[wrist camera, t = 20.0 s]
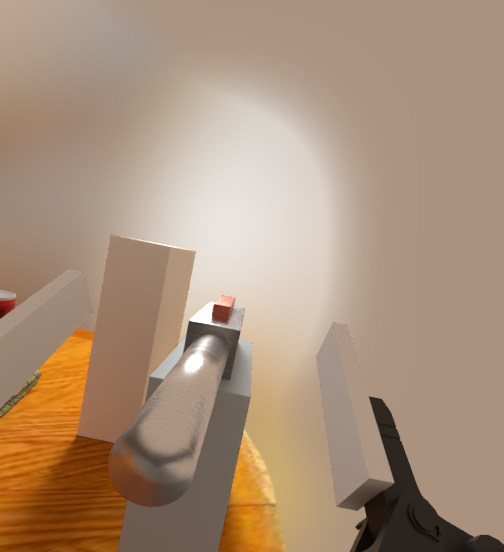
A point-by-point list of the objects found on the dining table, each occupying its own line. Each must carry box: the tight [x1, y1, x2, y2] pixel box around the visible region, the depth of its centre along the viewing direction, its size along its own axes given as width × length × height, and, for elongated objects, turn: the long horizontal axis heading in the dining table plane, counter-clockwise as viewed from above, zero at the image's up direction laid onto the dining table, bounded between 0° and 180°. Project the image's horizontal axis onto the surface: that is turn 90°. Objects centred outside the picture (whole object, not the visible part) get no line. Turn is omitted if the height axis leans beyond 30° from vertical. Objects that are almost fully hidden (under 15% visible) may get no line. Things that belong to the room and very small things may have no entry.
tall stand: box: [77, 235, 196, 443], centre depth 41 cm, size 8×14×28 cm, turn 0°
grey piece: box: [108, 295, 245, 507], centre depth 20 cm, size 4×22×6 cm, turn 179°
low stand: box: [118, 337, 252, 552], centre depth 26 cm, size 8×13×18 cm, turn 0°
